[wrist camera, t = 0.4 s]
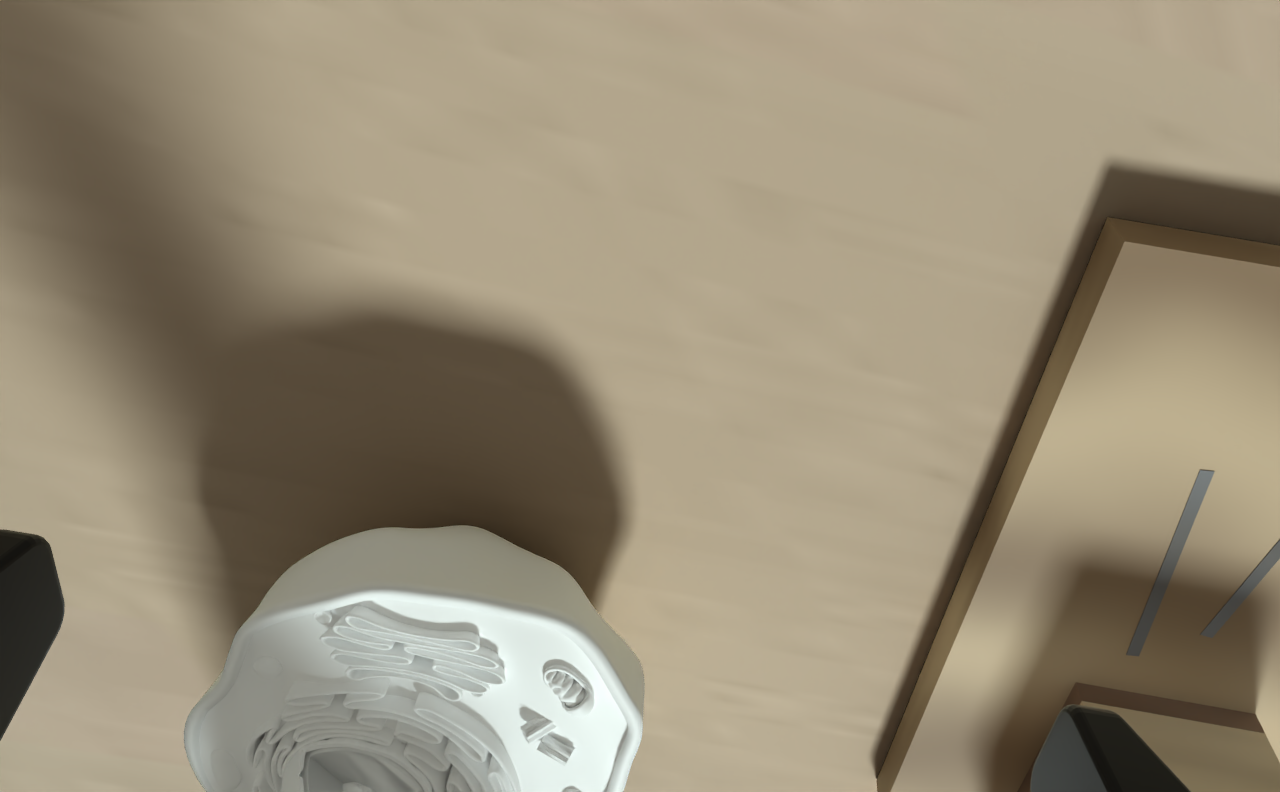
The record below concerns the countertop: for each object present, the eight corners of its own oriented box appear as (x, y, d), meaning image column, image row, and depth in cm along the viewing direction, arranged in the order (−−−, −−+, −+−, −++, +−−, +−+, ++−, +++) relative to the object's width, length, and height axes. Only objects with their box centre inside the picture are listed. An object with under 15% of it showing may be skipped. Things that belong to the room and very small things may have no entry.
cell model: (744, 643, 28) (738, 871, 22) (428, 783, 33) (356, 1001, 27) (504, 375, 24) (423, 566, 18) (186, 576, 29) (42, 779, 23)
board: (1249, 848, 30) (1265, 886, 29) (876, 780, 30) (879, 816, 29) (1663, 309, 20) (1710, 339, 19) (1107, 217, 20) (1124, 241, 19)
